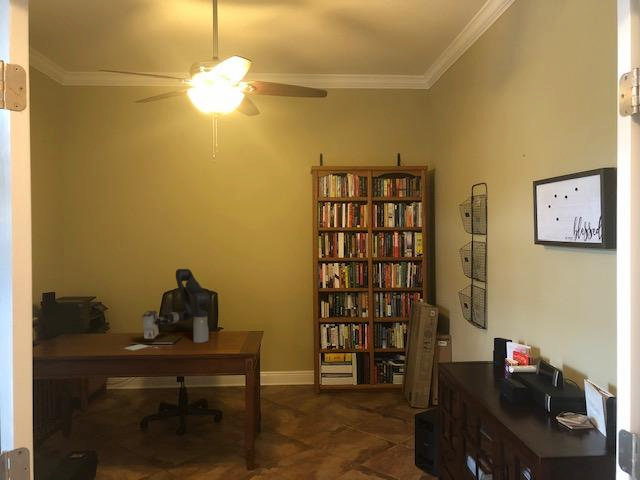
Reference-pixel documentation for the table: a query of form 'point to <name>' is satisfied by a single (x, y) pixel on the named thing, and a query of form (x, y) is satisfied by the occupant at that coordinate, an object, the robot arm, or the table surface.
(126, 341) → the table surface
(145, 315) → the coffee box
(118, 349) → the table surface
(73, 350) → the table surface
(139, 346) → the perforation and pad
